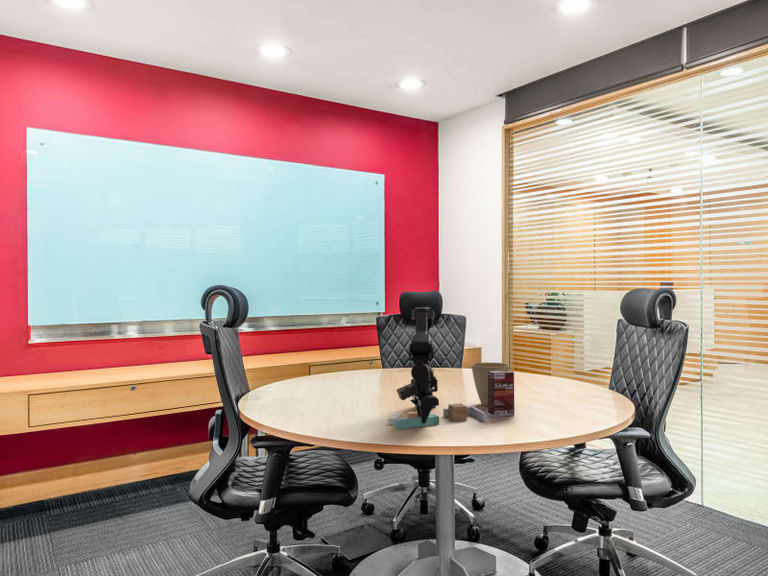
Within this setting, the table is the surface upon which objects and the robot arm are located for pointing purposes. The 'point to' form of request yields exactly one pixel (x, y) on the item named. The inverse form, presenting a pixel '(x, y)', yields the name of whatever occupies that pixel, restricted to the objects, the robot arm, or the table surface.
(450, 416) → the block
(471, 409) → the gray angle bracket
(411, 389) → the robot arm
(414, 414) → the offcut
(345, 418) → the table surface
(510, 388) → the supplement box
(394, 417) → the stick
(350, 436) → the table surface
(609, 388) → the table surface
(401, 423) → the crook
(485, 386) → the plant pot
